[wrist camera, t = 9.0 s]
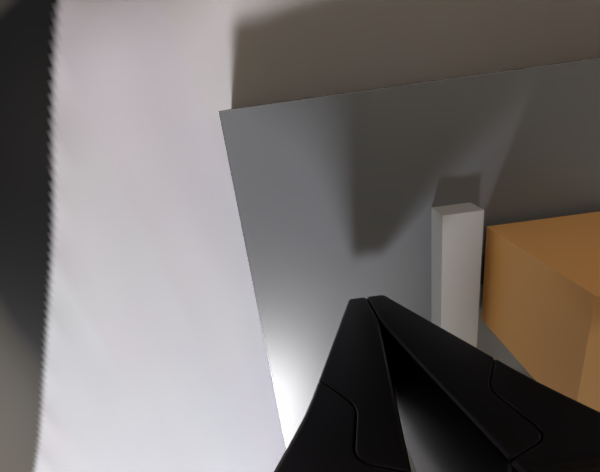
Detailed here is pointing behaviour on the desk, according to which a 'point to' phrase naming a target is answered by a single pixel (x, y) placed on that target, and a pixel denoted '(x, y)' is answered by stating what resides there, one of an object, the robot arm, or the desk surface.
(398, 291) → the console
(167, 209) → the desk surface
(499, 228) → the block
